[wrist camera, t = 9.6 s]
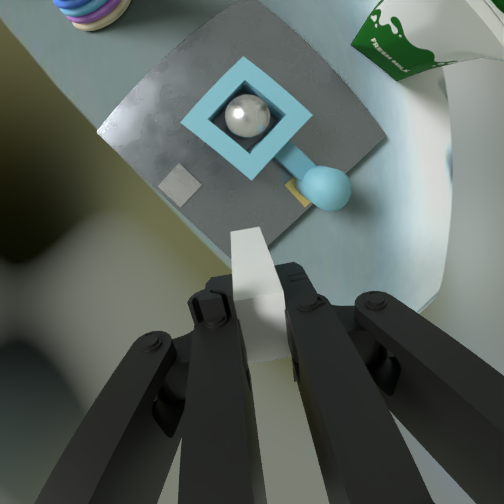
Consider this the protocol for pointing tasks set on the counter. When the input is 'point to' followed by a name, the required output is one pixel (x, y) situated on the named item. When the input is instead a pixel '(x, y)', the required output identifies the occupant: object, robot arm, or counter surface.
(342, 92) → the post plate
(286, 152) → the blue handled square frame
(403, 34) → the milk carton
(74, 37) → the counter surface
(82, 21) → the stacking toy
